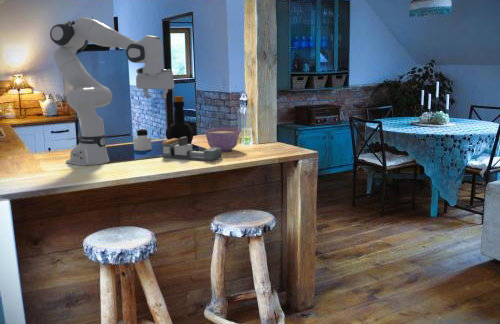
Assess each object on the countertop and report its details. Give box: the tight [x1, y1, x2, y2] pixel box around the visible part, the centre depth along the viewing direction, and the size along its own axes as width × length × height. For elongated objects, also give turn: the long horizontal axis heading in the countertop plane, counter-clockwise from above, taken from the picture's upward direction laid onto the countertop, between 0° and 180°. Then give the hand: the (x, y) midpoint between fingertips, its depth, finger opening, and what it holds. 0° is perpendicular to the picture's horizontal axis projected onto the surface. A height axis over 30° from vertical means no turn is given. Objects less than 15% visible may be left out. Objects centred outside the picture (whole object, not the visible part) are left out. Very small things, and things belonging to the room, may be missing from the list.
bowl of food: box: [204, 127, 241, 153], centre depth 282 cm, size 20×20×12 cm
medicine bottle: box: [133, 128, 153, 152], centre depth 288 cm, size 7×7×12 cm
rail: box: [161, 141, 222, 163], centre depth 262 cm, size 30×10×8 cm, turn 67°
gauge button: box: [162, 138, 178, 144], centre depth 267 cm, size 3×11×1 cm, turn 157°
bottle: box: [165, 95, 195, 144], centre depth 298 cm, size 16×16×30 cm
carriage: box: [174, 137, 194, 156], centre depth 264 cm, size 7×7×9 cm
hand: (156, 98), depth 243 cm, fingers open, 8 cm apart
